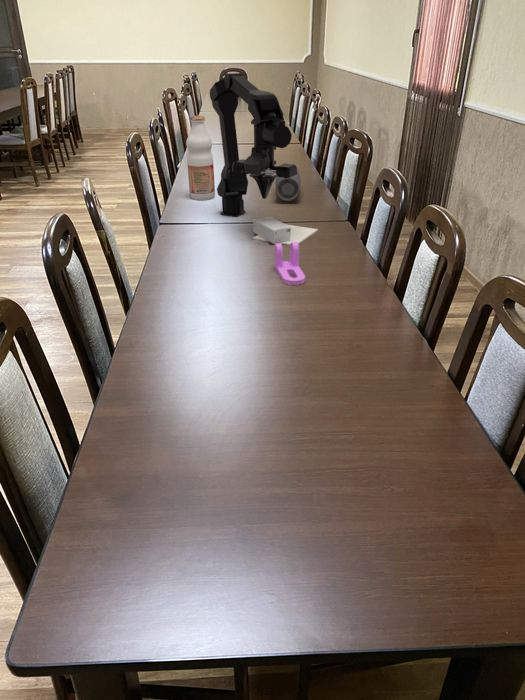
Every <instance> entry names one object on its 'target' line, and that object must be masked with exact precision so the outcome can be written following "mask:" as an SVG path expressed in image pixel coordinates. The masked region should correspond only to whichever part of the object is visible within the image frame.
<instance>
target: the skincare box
mask: <svg viewBox="0 0 525 700" xmlns="http://www.w3.org/2000/svg"><path fill="white" fill-rule="evenodd" d="M287 225H288V224H286V225H285V223H284V222H282V221H280V220H277V219H275V218H273V217H272V216H266V217H265V216H264V217H258V218H253V219H252V232H253V233H255V234H256V235H259V236H261V237H263V238H264V239H266V240H268V241H269V242H268V243H271V244H274V245H275V244H276V243H279V242H284V241H289V240H290V230H291V227H289V226H287Z"/></svg>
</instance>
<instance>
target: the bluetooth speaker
mask: <svg viewBox="0 0 525 700" xmlns="http://www.w3.org/2000/svg"><path fill="white" fill-rule="evenodd" d="M300 175H301V174H300V171H299V170H298V169H297V175H294V176H292V177H290V178H282V177H278V176H277V177H276V178H275V192H276V195H277V196H278V198H280V199H281V200H283V201H285V202H290V201H293V200H296V199H297V197H298V196H299V195H300V192H301V183H302V179H301V176H300Z"/></svg>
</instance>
